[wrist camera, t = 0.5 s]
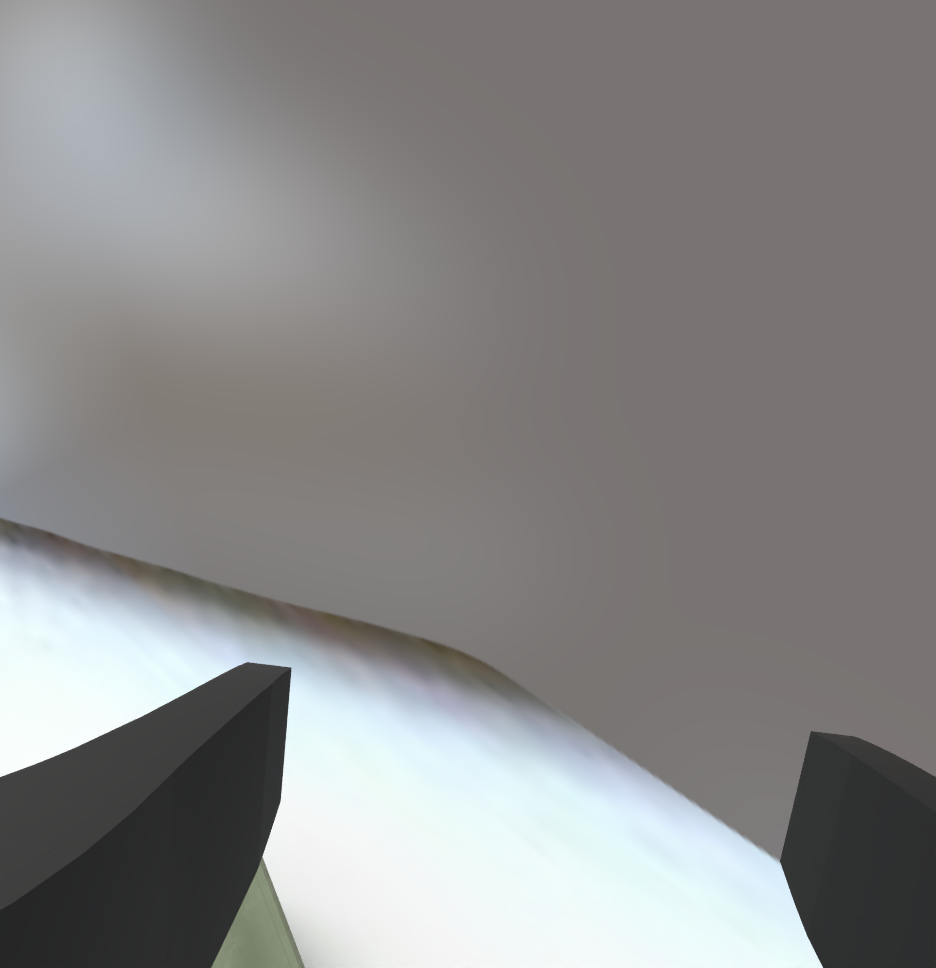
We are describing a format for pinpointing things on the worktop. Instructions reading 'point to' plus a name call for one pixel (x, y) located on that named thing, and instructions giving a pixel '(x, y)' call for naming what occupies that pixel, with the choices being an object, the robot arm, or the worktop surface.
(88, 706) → the worktop surface
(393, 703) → the worktop surface
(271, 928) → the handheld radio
